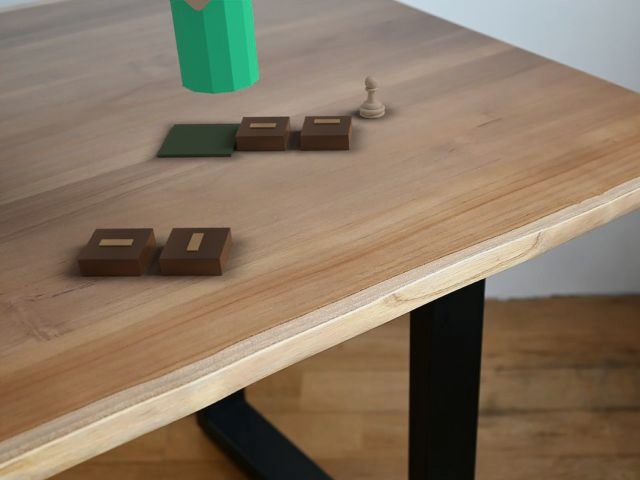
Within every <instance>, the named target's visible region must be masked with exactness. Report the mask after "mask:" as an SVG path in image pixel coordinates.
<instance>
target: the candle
mask: <svg viewBox="0 0 640 480" xmlns="http://www.w3.org/2000/svg"><path fill="white" fill-rule="evenodd" d="M169 3H170V10H171V11H170V12H171V16H172V17H171V18H172V24H173V30H174V37H175V45H176V50H177V59H178V65H179V72H180V78H181V84H182V87H183V88H185V89H186V90H187V89H188V90H189V91H192V92H194V93H201V94H210V95H216V94H226V93H235V92H238V91H241V90H244V89H247V88H249V87H252V86H253V85H254V84H256V82H258V81H259V80H260V72H259V62H258V53H257V41H256V32H255V21H254V11H253V2H252V0H210V1H209V3H208V4H207V5H206V6H205V7H204V8H203V9H202V10H199V11H197V10H195V9H193V8H192V7H191V6H190V5H189V4H188V3H187V2H185V1H184V0H169Z"/></svg>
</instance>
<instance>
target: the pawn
mask: <svg viewBox="0 0 640 480" xmlns="http://www.w3.org/2000/svg"><path fill="white" fill-rule="evenodd" d="M364 86H365V87H364V91H365V92H367V96H366V97H367V98H366V100H364V101H363V103H362V104H360V105H359V107H358V110H359V115H360V117H362V118H364V119H371V120H372V119H373V120H374V119H379V118H381V117H383V116H384V115H385V113H386V112H385V110H386V107H385V105H384V104H383V103H382V102H381V101H380V100H378V99H377V97H376V92H377V91H378V90H379V89H378V87H377V86H378V79H377V77H375V76H374V75H367V76H366V77H365V80H364Z"/></svg>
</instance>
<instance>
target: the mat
mask: <svg viewBox="0 0 640 480" xmlns="http://www.w3.org/2000/svg"><path fill="white" fill-rule="evenodd" d="M240 124H241V122H240V123H174V124H173V126H172V128H171V129H170V132H169V134H168V135H167V137H166V139H165V141H164V142H163V144H162V145H161V148H160V150H159V152H158V153H157V157H158V158H209V157H210V158H214V157H215V158H225V157H226V158H227V157H230V158H231V157H232V156H233V153H234V150H235V148H236V147H237V145H236V138H235V136H236V134H237V131H238V129H239V127H240Z"/></svg>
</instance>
